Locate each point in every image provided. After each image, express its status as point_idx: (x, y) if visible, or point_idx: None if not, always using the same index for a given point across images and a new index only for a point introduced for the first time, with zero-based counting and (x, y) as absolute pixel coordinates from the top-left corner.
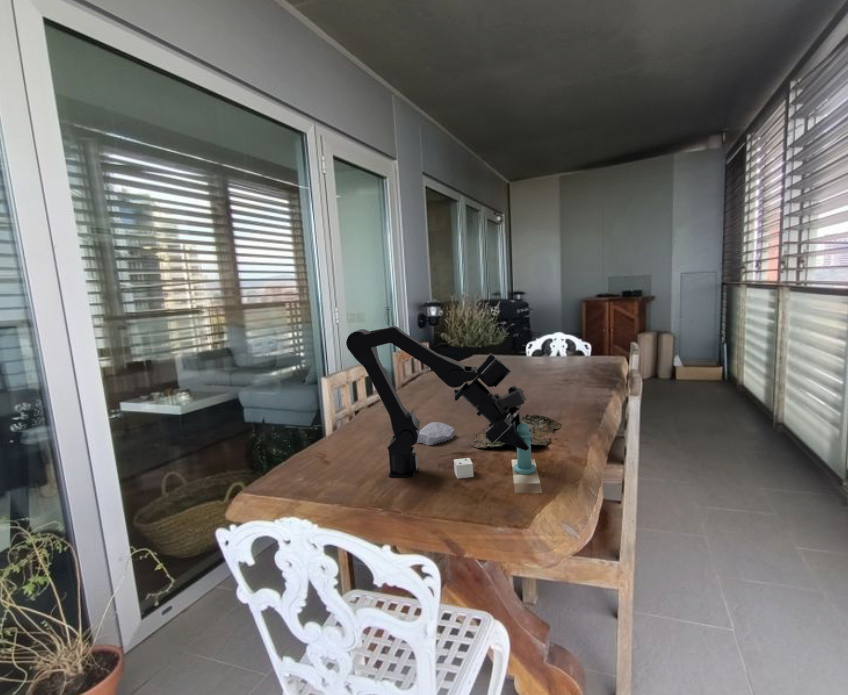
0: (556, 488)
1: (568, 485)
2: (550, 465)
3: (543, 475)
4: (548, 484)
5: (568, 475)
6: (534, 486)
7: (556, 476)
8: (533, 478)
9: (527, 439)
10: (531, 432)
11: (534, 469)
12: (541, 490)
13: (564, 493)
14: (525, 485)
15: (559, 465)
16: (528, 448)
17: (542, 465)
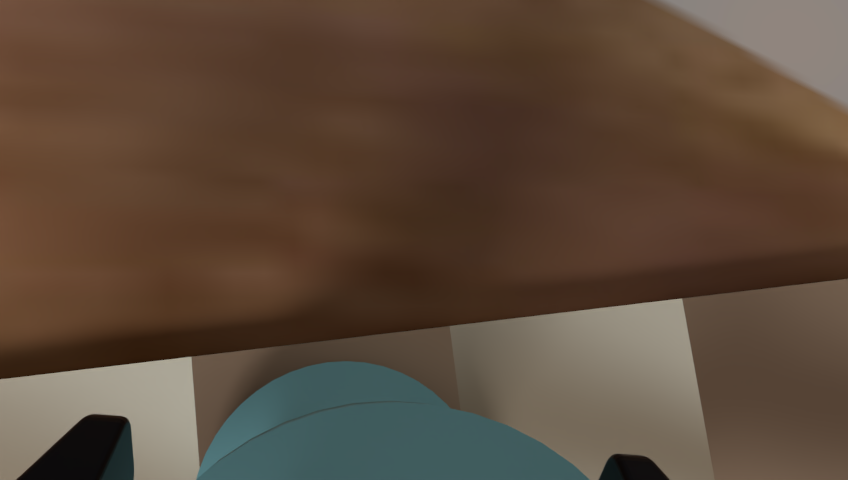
0: (696, 145)
1: (610, 31)
2: (67, 186)
3: (390, 271)
4: (618, 219)
5: (363, 8)
6: (770, 357)
7: (403, 131)
8: (569, 377)
9: None
10: (304, 424)
11: (396, 371)
12: (842, 283)
13: (785, 80)
14: (761, 457)
15: (64, 81)
16: (646, 466)
17: (69, 284)
